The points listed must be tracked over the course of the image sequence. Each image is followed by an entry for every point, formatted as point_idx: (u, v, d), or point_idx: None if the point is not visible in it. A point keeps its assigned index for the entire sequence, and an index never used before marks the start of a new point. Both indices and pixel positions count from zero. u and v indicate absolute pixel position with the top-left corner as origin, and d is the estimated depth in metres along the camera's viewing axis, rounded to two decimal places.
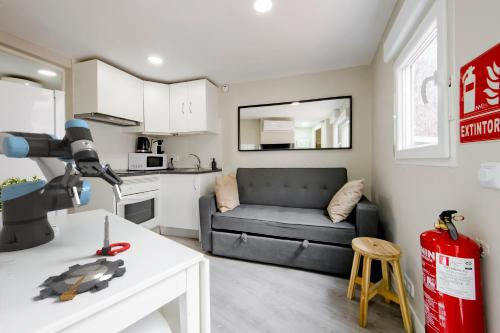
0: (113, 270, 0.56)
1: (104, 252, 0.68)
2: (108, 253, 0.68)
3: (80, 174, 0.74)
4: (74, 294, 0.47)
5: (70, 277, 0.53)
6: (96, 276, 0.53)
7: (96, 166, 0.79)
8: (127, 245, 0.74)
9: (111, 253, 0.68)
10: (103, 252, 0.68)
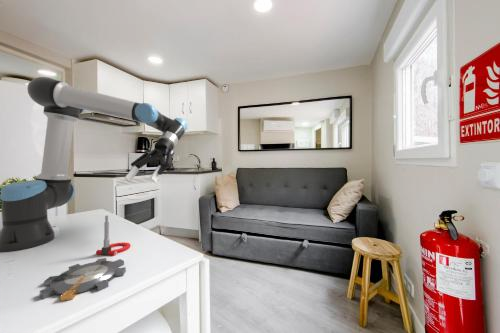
0: (113, 270, 0.56)
1: (104, 252, 0.68)
2: (108, 253, 0.68)
3: None
4: (74, 294, 0.47)
5: (70, 277, 0.53)
6: (96, 276, 0.53)
7: None
8: (127, 245, 0.74)
9: (111, 253, 0.68)
10: (103, 252, 0.68)
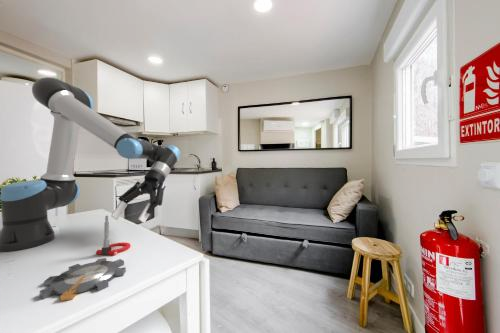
0: (113, 270, 0.56)
1: (104, 252, 0.68)
2: (108, 253, 0.68)
3: None
4: (74, 294, 0.47)
5: (70, 277, 0.53)
6: (96, 276, 0.53)
7: None
8: (127, 245, 0.74)
9: (111, 253, 0.68)
10: (103, 252, 0.68)
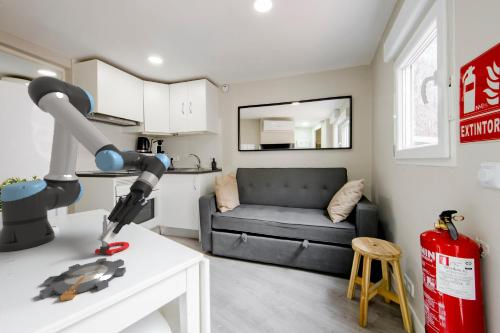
0: (113, 270, 0.56)
1: (102, 251, 0.68)
2: (106, 252, 0.68)
3: None
4: (74, 294, 0.47)
5: (70, 277, 0.53)
6: (96, 276, 0.53)
7: None
8: (126, 244, 0.74)
9: (109, 252, 0.68)
10: (101, 251, 0.68)
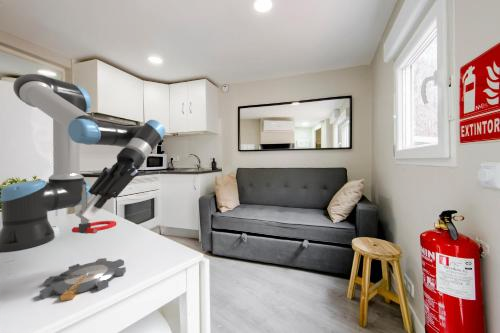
0: (113, 270, 0.56)
1: (81, 229, 0.54)
2: (87, 230, 0.54)
3: None
4: (74, 294, 0.47)
5: (70, 277, 0.53)
6: (96, 276, 0.53)
7: None
8: (112, 223, 0.60)
9: (90, 231, 0.54)
10: (80, 229, 0.54)
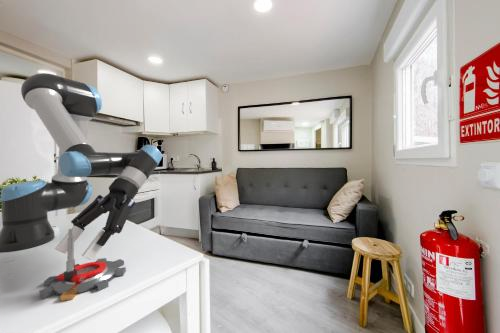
0: (113, 270, 0.56)
1: (67, 278, 0.51)
2: (73, 279, 0.50)
3: None
4: (74, 294, 0.47)
5: None
6: (96, 276, 0.53)
7: None
8: (101, 266, 0.57)
9: (76, 280, 0.50)
10: (65, 278, 0.51)
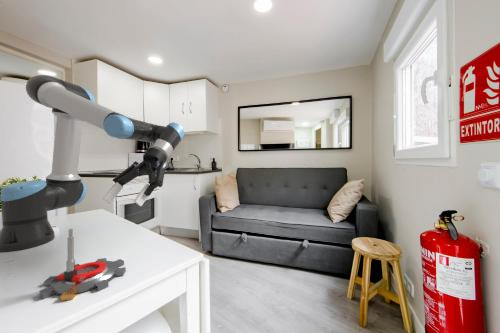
0: (113, 270, 0.56)
1: (67, 278, 0.51)
2: (73, 279, 0.50)
3: None
4: (74, 294, 0.47)
5: None
6: (96, 276, 0.53)
7: None
8: (101, 266, 0.57)
9: (76, 280, 0.50)
10: (65, 278, 0.51)
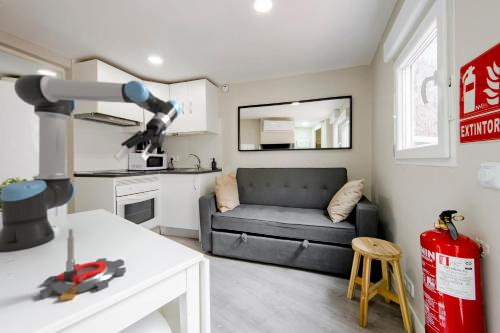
0: (113, 270, 0.56)
1: (67, 278, 0.51)
2: (73, 279, 0.50)
3: None
4: (74, 294, 0.47)
5: None
6: (96, 276, 0.53)
7: None
8: (101, 266, 0.57)
9: (76, 280, 0.50)
10: (65, 278, 0.51)
